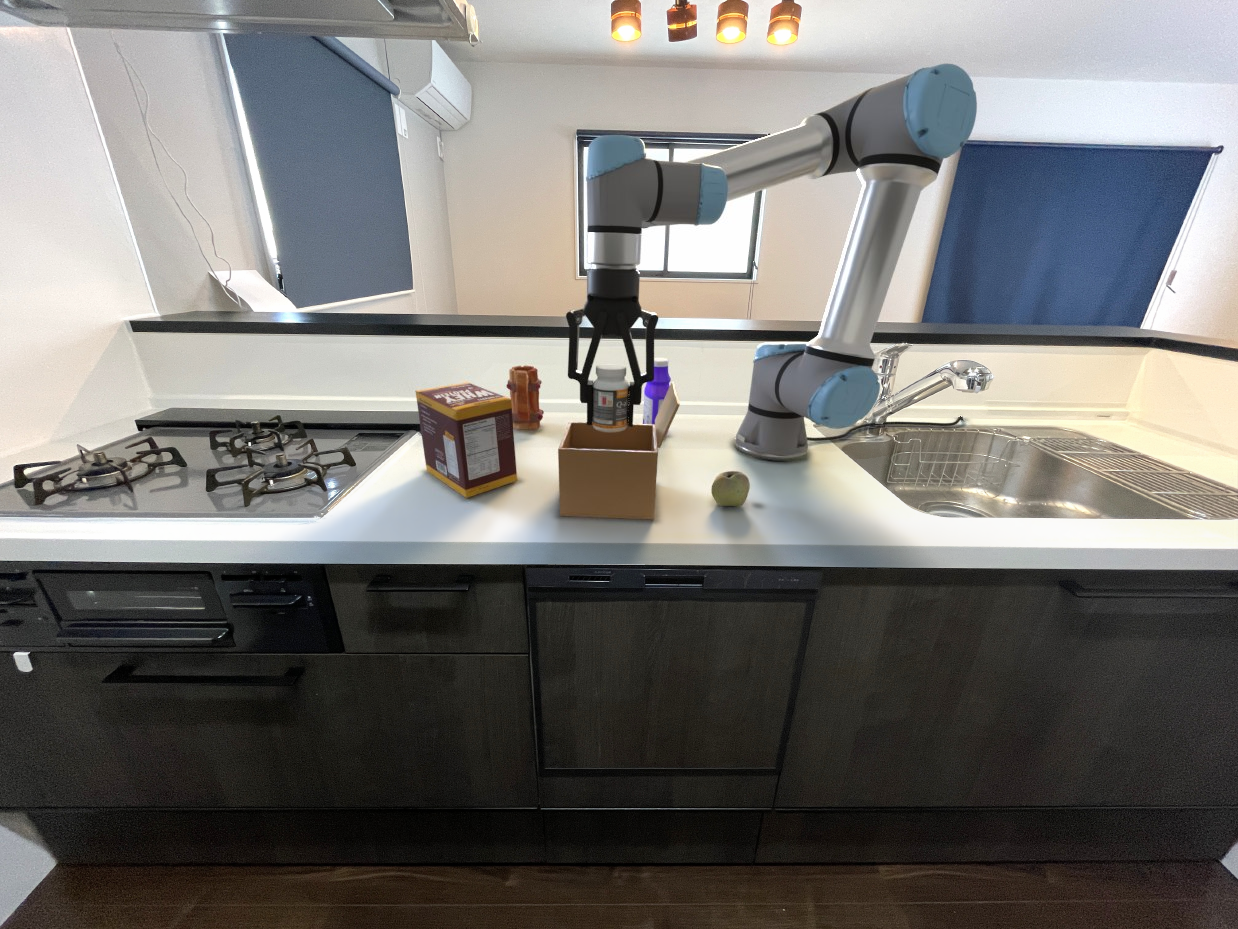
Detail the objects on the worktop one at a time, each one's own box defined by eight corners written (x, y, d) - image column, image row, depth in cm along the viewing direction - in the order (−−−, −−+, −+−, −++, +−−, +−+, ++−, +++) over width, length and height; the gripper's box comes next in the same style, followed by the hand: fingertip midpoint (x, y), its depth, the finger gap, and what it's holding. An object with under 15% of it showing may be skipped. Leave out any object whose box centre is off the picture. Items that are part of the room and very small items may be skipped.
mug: (510, 421, 120) (506, 360, 114) (544, 421, 121) (542, 360, 115) (504, 443, 107) (499, 375, 101) (542, 442, 108) (540, 375, 102)
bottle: (671, 438, 113) (677, 362, 106) (647, 439, 111) (651, 362, 104) (661, 427, 119) (666, 355, 112) (639, 429, 118) (642, 356, 111)
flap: (654, 420, 85) (656, 421, 85) (657, 447, 73) (659, 448, 73) (671, 381, 82) (674, 382, 82) (677, 403, 70) (680, 404, 70)
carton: (651, 484, 90) (655, 424, 85) (653, 519, 78) (658, 452, 73) (570, 481, 90) (569, 421, 86) (559, 516, 78) (558, 448, 74)
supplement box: (475, 457, 99) (467, 381, 93) (518, 481, 90) (512, 398, 83) (425, 470, 93) (413, 390, 87) (466, 499, 83) (456, 409, 77)
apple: (762, 510, 82) (767, 477, 80) (717, 514, 80) (721, 481, 78) (745, 493, 87) (750, 463, 85) (703, 497, 85) (706, 466, 83)
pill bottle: (624, 435, 76) (626, 371, 72) (588, 432, 77) (588, 368, 73) (630, 423, 81) (633, 363, 77) (597, 421, 82) (597, 361, 78)
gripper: (678, 268, 73) (667, 418, 82) (551, 264, 73) (555, 413, 82) (682, 270, 66) (670, 433, 75) (542, 265, 66) (547, 428, 75)
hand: (610, 422), depth 79 cm, fingers closed on pill bottle, 6 cm apart
